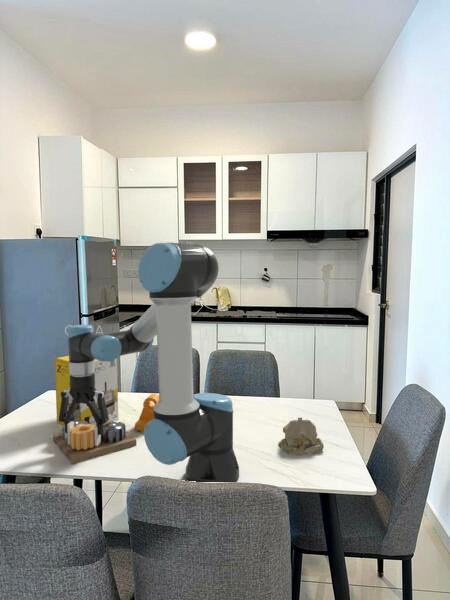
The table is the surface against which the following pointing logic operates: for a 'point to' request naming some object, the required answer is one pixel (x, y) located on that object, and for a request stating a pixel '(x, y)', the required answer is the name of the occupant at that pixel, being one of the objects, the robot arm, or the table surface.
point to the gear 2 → (113, 432)
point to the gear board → (92, 452)
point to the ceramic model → (301, 438)
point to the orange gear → (82, 437)
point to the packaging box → (103, 382)
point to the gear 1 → (77, 422)
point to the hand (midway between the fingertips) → (84, 443)
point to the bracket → (146, 412)
